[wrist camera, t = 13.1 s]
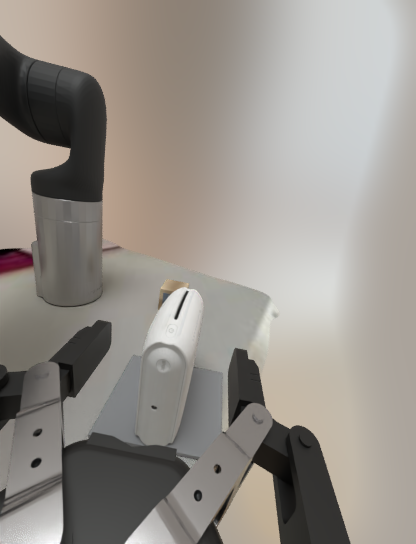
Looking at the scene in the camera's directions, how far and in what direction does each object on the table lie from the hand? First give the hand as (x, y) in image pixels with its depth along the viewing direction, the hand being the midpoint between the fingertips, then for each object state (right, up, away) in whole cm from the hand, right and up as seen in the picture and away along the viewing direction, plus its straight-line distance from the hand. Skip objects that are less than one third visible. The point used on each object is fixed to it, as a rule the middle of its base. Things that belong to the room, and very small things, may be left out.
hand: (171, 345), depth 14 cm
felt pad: (-2, -10, +10) cm, 14 cm away
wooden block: (-5, -2, +29) cm, 29 cm away
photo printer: (-2, -9, +10) cm, 14 cm away
